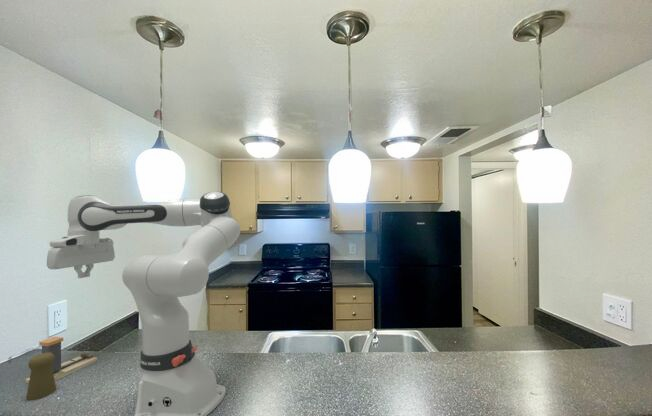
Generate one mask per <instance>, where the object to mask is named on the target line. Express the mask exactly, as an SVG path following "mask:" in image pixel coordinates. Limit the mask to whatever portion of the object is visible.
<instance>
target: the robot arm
mask: <svg viewBox="0 0 652 416" xmlns="http://www.w3.org/2000/svg"><path fill="white" fill-rule="evenodd" d="M67 223H68V229H67V235H64V236H62V237H58V238H55V239H52V240H50V241H49V246H50V247H51V248H50V249H48V251H47V255H46V267H47V268H48V269H49V270H60V269H68V268H73V270H74V271H75V272H76V274H77V278H78V279H85V278H89V277H91V271H92V270H93V268H94V264H101V263H107V262H113V261H114V260H115V258H116V256H115V255H116V254H115V247H114V240H112V238H109V237H105V238H100V232H101V231H109V230H111V231H112V230H119V229H121V228H124V227H125V226H126V225H128V224H140V223H141V224H143V223H144V224H154V225H162V226H169V227H193V226H201V228H199V229H198V230H196V231H194V232H193V233H191V234H190V235H188V236H187V237H185V238H184V240H183V242H182V247H181V248H180V249H179V250H177V251H175V252H171V253H169V254H167V253H166V254H162V253H158V254H157V253H156V254H155V253H151V254H144V255H141V256H138V257H135V258H133V259H131V260H130V261H129V262H127V264H126V265H125V267H124V268H123V270H122V277H121V279H122V283H123V284H124V285H125V287H126V288H127V289H128V290H129V292H130V293H131V294H132V297H133V299H134V302H135V305H136V308H137V311H138V314H139V317H140V318H139V319H140V323H141V325H140V326H141V342H142V343H141V345H142V347H141V348H142V349H141V351H140V357H139V364H140V365H139V367H140V368H141V375H140V379H139V383H138V389H137V398H136V399H137V400H136V401H137V402H136V405H135V407H134V411H135V414H134V415H133V416H209V414H211V412H213V411H214V410H215V408H217V406H219V405H220V404H221V402H222V401H223V400H224V398H225V396H226V394H227V388H226V386H224V385H222V384H218V383H217V377H216V374H215V371H214V370H213V369H212V368H210V366H209V365H208V364H207V363H204V361H202V360H201V359H200V358H198V356H197V355H196V351H197V350H198V347H199V345H195V346H194V345H193V344H192V340H191V339H190V317H189V313H188V311H187V308H186V307H184V306H183V305H182V303H181V302H180V299H179V298H182V297H187V296H193V295H196V294H198V293H200V292H201V291H203V289H204V288H205V287H206V286H207V283H208V282H209V281H208V280H209V276H210V271H209V267H210V265H212V263H214V261H215V260H217V259H218V258H220V256H221V255H223V254H224V253H225V252H226V251H228V249H230V248H231V246H233V245H234V243H235V242H236V241H237V240H238V238H239V237H240V235H241V227H240V225H239V223H238V221H236V220H235V219H233V213H232V209H231V201H230V199H229V196H228V195H227V194H226V193H224V192H222V191H210V192H206V193H204V194H203V195H202V196H201V197H200V198H179V201H177V202H165V201H160V202H155V203H151V204H150V203H149V204H144V205H143V204H142V205H119V204H116V203H112V202H111V203H110V202H108V201H106V200H104V199H101V198H99V197H98V196H95V195H87V194H86V195H79V196H78V195H77V196H75V197H72V199H70V200H69V203H68V208H67ZM84 266H85V268H86V269H85V270H84V271H83V270H82V269H83V267H84Z"/></svg>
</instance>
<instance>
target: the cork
mask: <svg viewBox="0 0 652 416" xmlns="http://www.w3.org/2000/svg"><path fill="white" fill-rule="evenodd" d="M53 361H54V355H53V353H42V352H41V353H39V354H37V355H34V356H33V357H31V358H30V359H29V361H28V367H29V369H30V370H31V371H30V375H29V378H30V380H29V384H28V387H27V393H26V398H25V400H26V401H28V402H29V401H31V402H32V401H35V400H40V399H43V398H46V397H48V396H50V395H51V394H53V393H54V392H56V390H57V385H56V384H57V383H56V381H55V379H54V374H53V368H52V363H53Z"/></svg>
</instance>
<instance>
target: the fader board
mask: <svg viewBox="0 0 652 416" xmlns="http://www.w3.org/2000/svg"><path fill="white" fill-rule="evenodd" d="M96 362H98V357H95V356H94V353H93V354H92V353H86V352H84V353H82V354H80V355H78V356H77V357H74V358H72V359H69V360H67V361H64V362H61V370H59V371H56V372H54V373H53V374H54V379H55V382H56V381H58V380H60V379H62V378H64V377H66V376H69V375H71V374H73V373H75V372H77V371H79V370H81V369H83V368H86V367H88V366H90V365H92V364H94V363H96ZM29 380H30V377H28V378H25V384H28V385H29Z"/></svg>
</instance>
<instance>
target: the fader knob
mask: <svg viewBox="0 0 652 416" xmlns="http://www.w3.org/2000/svg"><path fill="white" fill-rule="evenodd" d="M62 342H64V337H62V336H52V337H50V338H47V339H45V340H42V341H39V346H40V347H41V354H42V353H53V355H54V361H53V363H52V368H53V373H54V372H56V371H59V370H61V364H62Z"/></svg>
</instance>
